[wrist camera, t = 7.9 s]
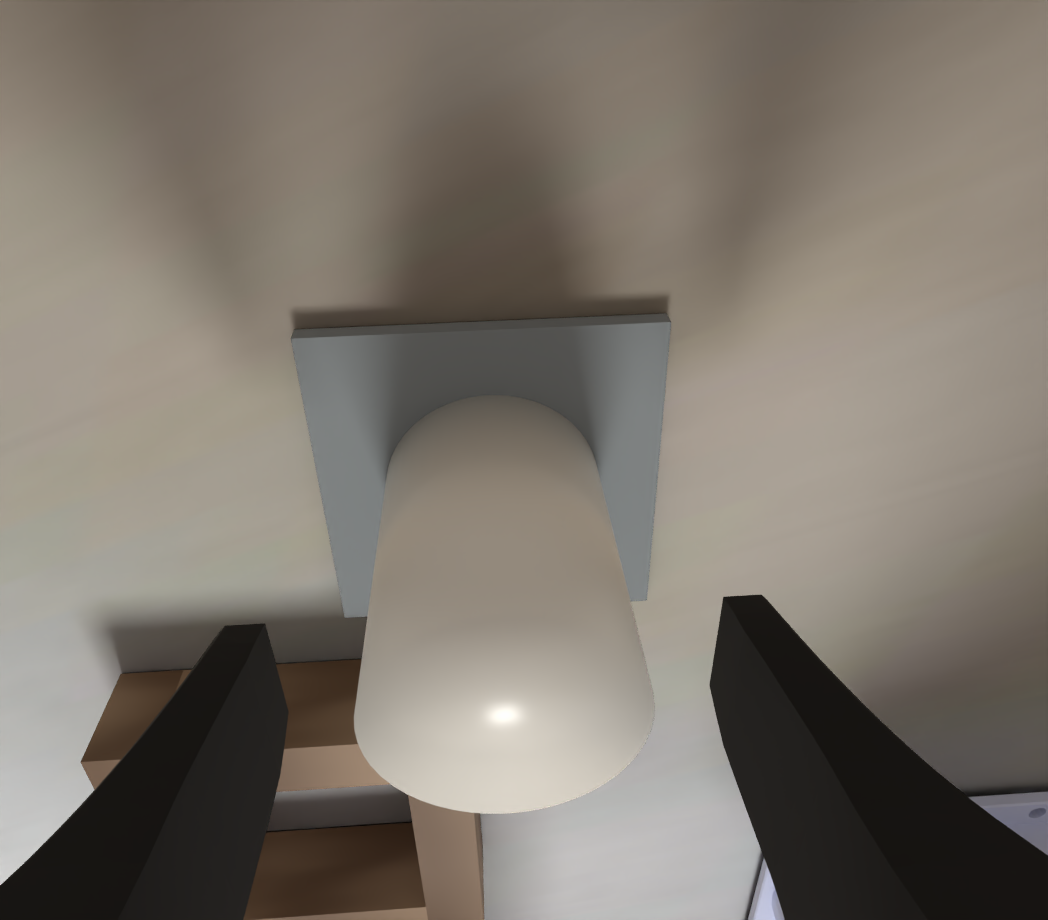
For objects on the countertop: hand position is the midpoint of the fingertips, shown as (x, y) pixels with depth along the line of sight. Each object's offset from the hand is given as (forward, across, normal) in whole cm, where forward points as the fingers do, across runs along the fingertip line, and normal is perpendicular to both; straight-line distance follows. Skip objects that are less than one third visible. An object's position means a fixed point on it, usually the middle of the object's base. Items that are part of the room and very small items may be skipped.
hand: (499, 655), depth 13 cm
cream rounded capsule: (+5, 0, 0) cm, 5 cm away
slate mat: (+5, 0, 0) cm, 5 cm away
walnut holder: (+5, +5, +10) cm, 12 cm away
